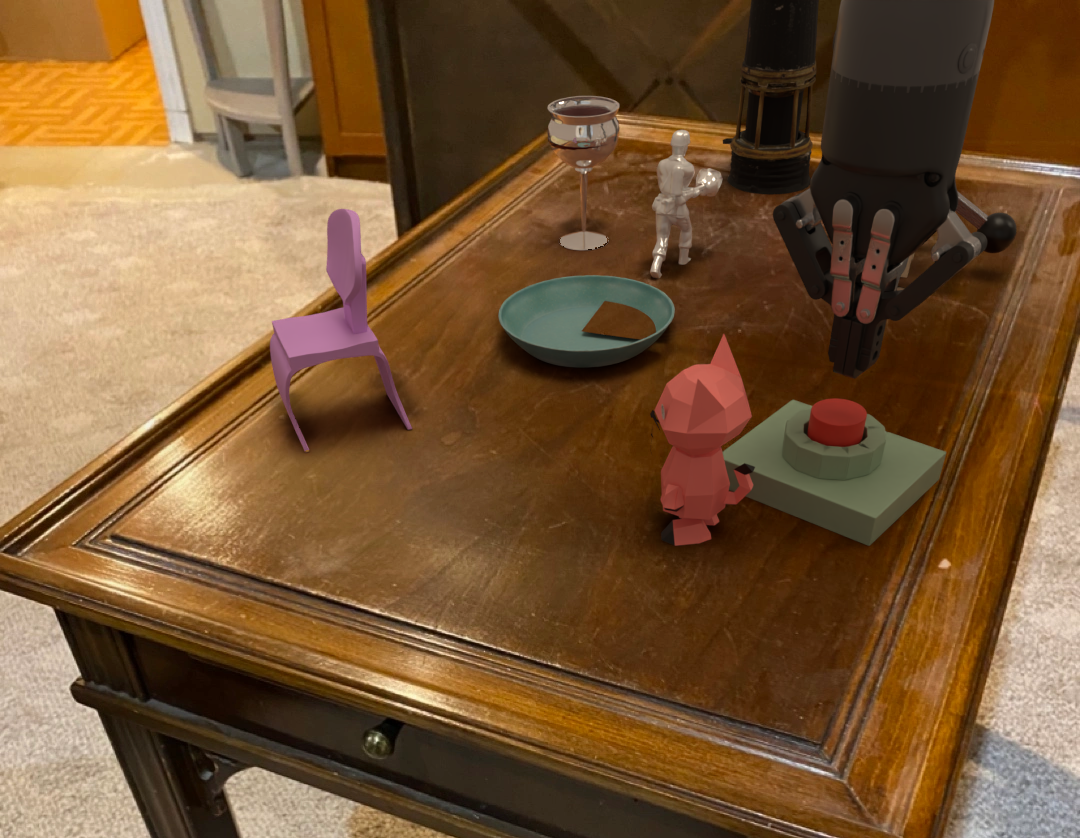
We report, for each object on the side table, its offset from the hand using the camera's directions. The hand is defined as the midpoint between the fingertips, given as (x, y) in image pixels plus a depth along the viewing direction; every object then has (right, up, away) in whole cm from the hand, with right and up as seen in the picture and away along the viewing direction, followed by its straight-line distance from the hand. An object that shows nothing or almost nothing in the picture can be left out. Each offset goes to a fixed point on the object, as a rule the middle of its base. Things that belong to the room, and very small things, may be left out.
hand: (850, 370), depth 67 cm
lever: (+15, +22, +24) cm, 36 cm away
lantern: (+5, +35, +47) cm, 59 cm away
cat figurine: (-10, -10, +3) cm, 14 cm away
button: (0, -3, +3) cm, 5 cm away
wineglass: (-15, +26, +38) cm, 48 cm away
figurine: (-7, +20, +32) cm, 38 cm away
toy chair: (-35, 0, +14) cm, 37 cm away
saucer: (-16, +10, +23) cm, 29 cm away
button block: (0, -6, +6) cm, 8 cm away
